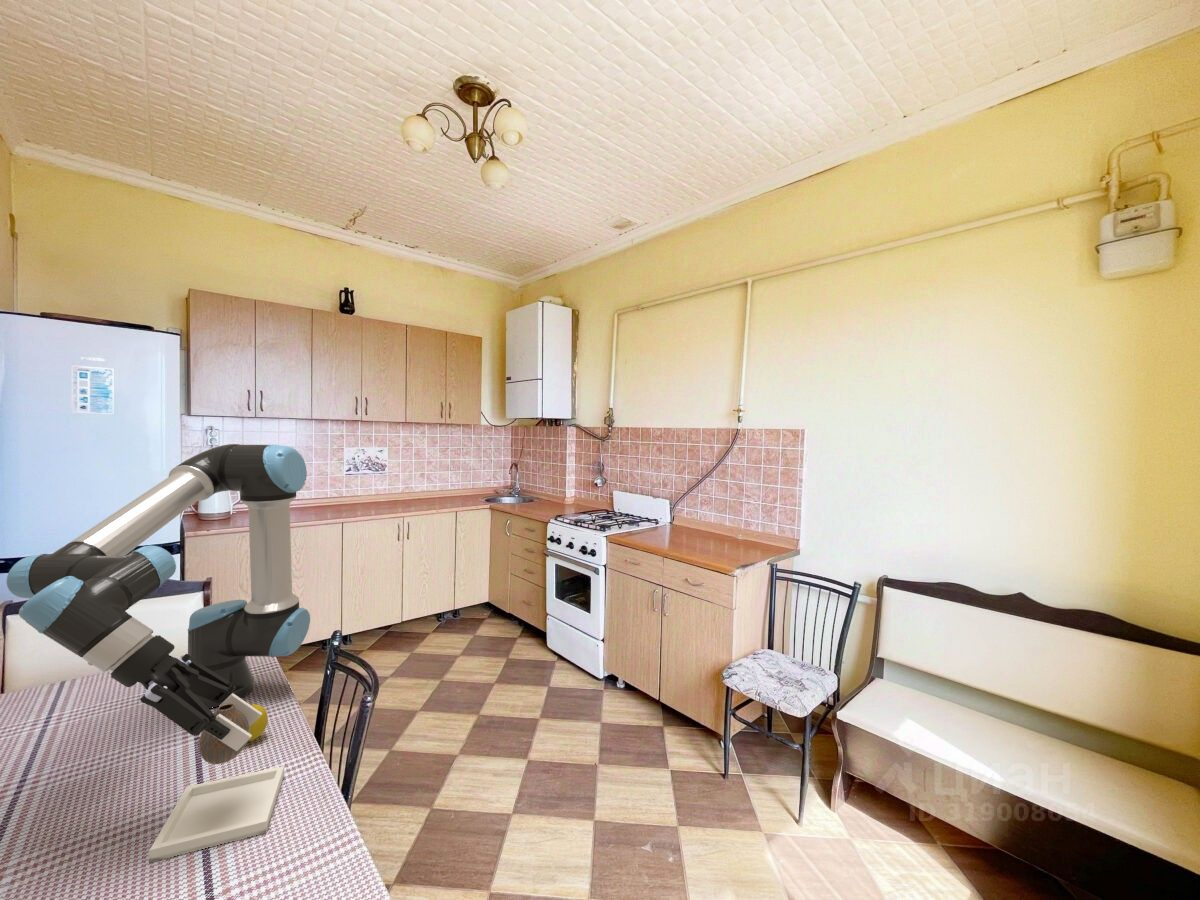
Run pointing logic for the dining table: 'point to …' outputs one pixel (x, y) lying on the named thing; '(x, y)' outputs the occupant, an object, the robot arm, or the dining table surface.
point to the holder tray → (219, 813)
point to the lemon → (258, 723)
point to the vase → (215, 748)
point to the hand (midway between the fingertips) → (250, 731)
